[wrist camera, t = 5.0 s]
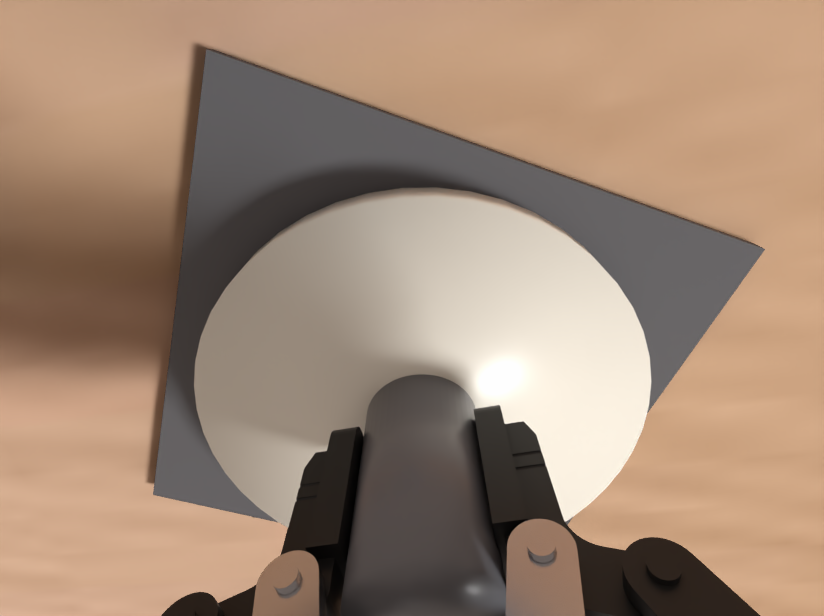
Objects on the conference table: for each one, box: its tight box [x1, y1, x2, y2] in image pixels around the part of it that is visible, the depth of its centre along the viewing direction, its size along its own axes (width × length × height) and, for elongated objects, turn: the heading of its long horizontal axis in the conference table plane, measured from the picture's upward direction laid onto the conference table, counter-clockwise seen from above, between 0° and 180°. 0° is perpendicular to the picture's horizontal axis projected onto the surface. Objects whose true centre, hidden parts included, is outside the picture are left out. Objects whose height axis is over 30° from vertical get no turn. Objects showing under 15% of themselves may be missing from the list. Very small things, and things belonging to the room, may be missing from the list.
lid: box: [194, 187, 651, 616], centre depth 12 cm, size 13×13×6 cm
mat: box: [153, 49, 765, 525], centre depth 15 cm, size 15×15×1 cm
